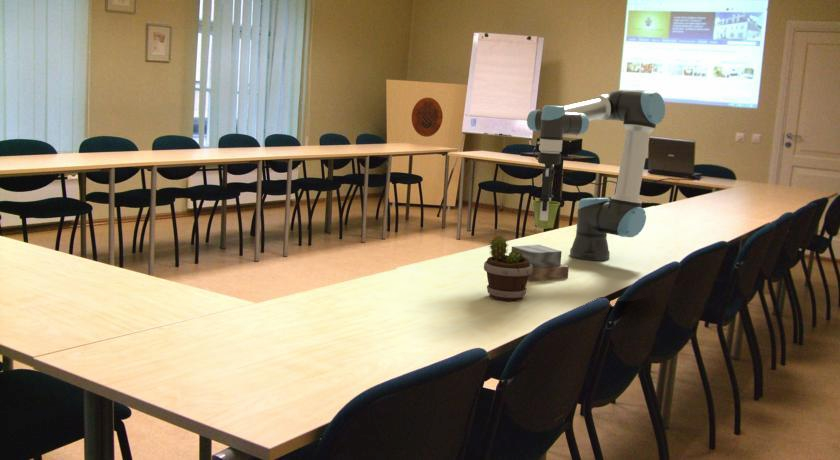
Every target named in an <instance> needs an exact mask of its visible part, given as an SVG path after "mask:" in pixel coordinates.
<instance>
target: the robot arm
mask: <svg viewBox="0 0 840 460" xmlns="http://www.w3.org/2000/svg"><path fill="white" fill-rule="evenodd" d="M541 109H542V110H541ZM541 109H533V110H531V111H530V112H529V113H528V115H527V118H526V126H527V127H528V129H529V130H530V131H533V132H538V133H539V141H537V145H539V146H538V150H539V151H540V152H538V155H537V157H538V158H537V162H538V164H540V165H544V168H543V169H542V170H541V173H542V174H541V175H542V178H541V182H542V187H541V193H540V194H541V196H540V198H538V200H539V201H541V207H540V220H542V221H548V212H549V201H552V198H554V194H553V182H554V179H555V178H554V175H555V172H556V170H555V168H554V165H555V166H559V165H561V160H562V153H561V152H562V151H563V137H564V135H567V136H569V135H570V136H571V135H572V136H578V135H584V134H585V133H586V132H587V131H588V129H589V125H590V122H591V121H595V120H596V121H600V122H602V121H607V120H609V121H618V122H619V121H621V122H623V123H622V126H623V127H624V129H625V136H624V141H623V142H624V143H623V147H622V154H621V159H620V165H619V170H618V176H617V181H616V188H615V193H614V195H612V196H611V197H610V198H609V197H587V198H581V199H580V200H579V201H578V207H577V217H576V229H575V230H576V231H575V233H576V234H575V237H574V240H573V242H572V247H570V250H569V256H570V257H572V258H576V259H580V260H586V261H588V260H589V261H606V260H609V259H610V258H611V257H610V255H611V252H610V250H609V244H608V238H607V237H608V234H609V235H614V236H617V237H618V236H619V237H621V238H622V237H623V238H634V237H637V236H638V235H639V234H640V233H641V232H642V231H643V229H644V227H645V225H646V221H647V215H646V211H645V209H644V208H643V207H642V206H643V202H642V200H641V199H640V193H641V187H642V180H643V175H644V169H645V165H646V164H645V163H646V157H647V153H648V146H649V142H650V135H651V133H652V132H654V131H655V130H656V127H657V125H659V124H661V122H662V121H663V119H664V118H665V116H666V104H665V100H664V98H663V97H662V95H661V94H660V93H659V92H657V91H653V90H647V89H646V90H641V89H640V90H639V89H638V90H637V89H636V90H635V89H634V90H630V89H619V90H614V91H610V92H606V93H602V94H599V95H596V96H594V97H593V98H592V99H588V100H584V101H580V102H575V103H570V104H566V105H550V104H549V105H548V104H547V105H546V104H545V105H544V106H543V107H542V108H541Z"/></svg>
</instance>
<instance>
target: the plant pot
mask: <svg viewBox="0 0 840 460" xmlns="http://www.w3.org/2000/svg"><path fill="white" fill-rule="evenodd" d="M531 203H532V205H533V212H534V213H533V214H534V227H535V228H539V229H545V230H546V229H553V228H554V226H555V221H556V217H557V213H558V209H559V207H560V205H561V203H560V202H559V201H554V200H551V201H549V212H548V221H542V220H540V207H541V201H539V199H537V200H535V199H534V200H532V201H531Z"/></svg>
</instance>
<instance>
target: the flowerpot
mask: <svg viewBox="0 0 840 460" xmlns="http://www.w3.org/2000/svg"><path fill="white" fill-rule="evenodd" d="M503 236H504V233H502V234H500V233H499V232H498V231H497V234H496V235H494V236H493V238H492V239H491V240H490V244H489V245H488V249H489V252H490V256H489V257H488V258H487V260H486V261H485V262H484V263H483V270H484V272H486V277H487V283H488V284H487V285H486V289H487V293H488V295H489V297H490V298H491V299H495V300H498V301H501V300H502V301H503V302H504V301H505V302H512V301H513V302H515V301H516V302H517V301H521V300H523V298H524V297H525V296H526V293H527V291H528V289H527V287H526V286H527V285H528V282H529V281H528V277H529V275H530V274H531V273H532V270H533V266H532V264H530V262H529V260H528V259H527V258H525V257H523V255H522V253H520V252H519V250H517V248H515V249H514V250H517V251H514V250H513V251H512V250H510V252H508V249H507V248H508V242H509V241H508V240H507V239H506V238H505V237H503ZM520 250H522V249H520ZM502 301H501V302H502Z"/></svg>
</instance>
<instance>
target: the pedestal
mask: <svg viewBox="0 0 840 460" xmlns="http://www.w3.org/2000/svg"><path fill="white" fill-rule="evenodd" d="M515 248H517V250H519V252H520V253H522V255H523V257H525V258H527V259H528V260H529V262H530V264H532V266H533V270H532V273H531V274H530V275H529V277H528V281H527V282H539V281H540V282H541V281H552V280H560V279H568V278H569V269H570V267H569V266H568V265H566V264H563V263H562V254H563V253H562V252H563V251H562V250H558V249H557V248H556V249H555V248H552V247H549V246H545V245H541V244H530V245H529V244H528V245H517V246H511V251H513V250H514V249H515ZM520 249H522V250H520ZM517 250H514V251H517Z"/></svg>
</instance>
